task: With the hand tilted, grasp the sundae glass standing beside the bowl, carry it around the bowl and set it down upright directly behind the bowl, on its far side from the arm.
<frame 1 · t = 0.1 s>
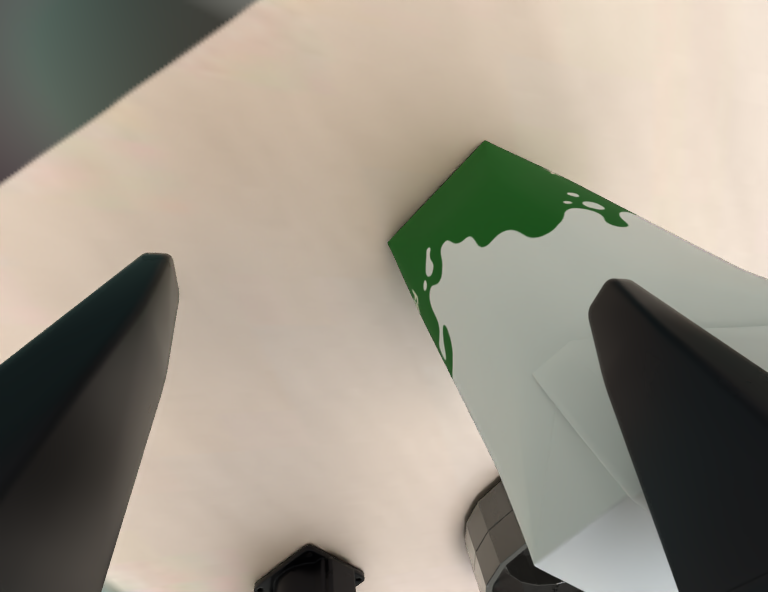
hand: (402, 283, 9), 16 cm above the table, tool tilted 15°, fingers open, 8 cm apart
bowl: (547, 514, 39), on the table
milk carton: (473, 232, 27), on the table, touching gripper
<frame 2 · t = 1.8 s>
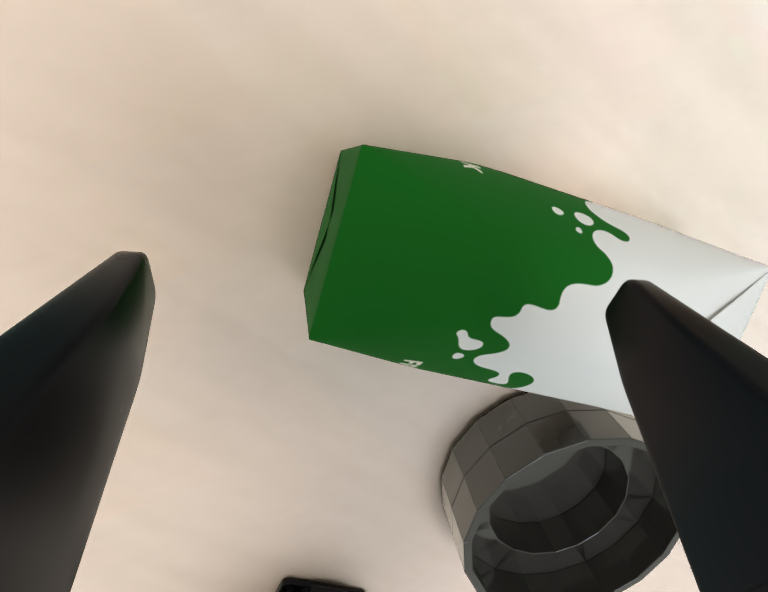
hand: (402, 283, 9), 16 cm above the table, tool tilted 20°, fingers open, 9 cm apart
bowl: (538, 467, 33), on the table
milk carton: (320, 232, 20), point 5 cm above the table
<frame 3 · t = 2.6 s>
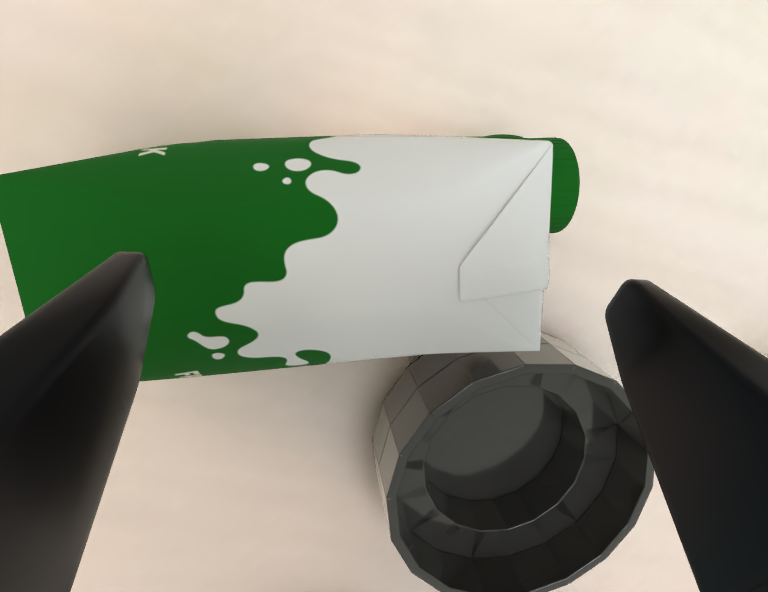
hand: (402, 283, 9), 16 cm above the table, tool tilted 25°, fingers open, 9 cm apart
bowl: (487, 431, 29), on the table
milk carton: (61, 269, 19), point 4 cm above the table
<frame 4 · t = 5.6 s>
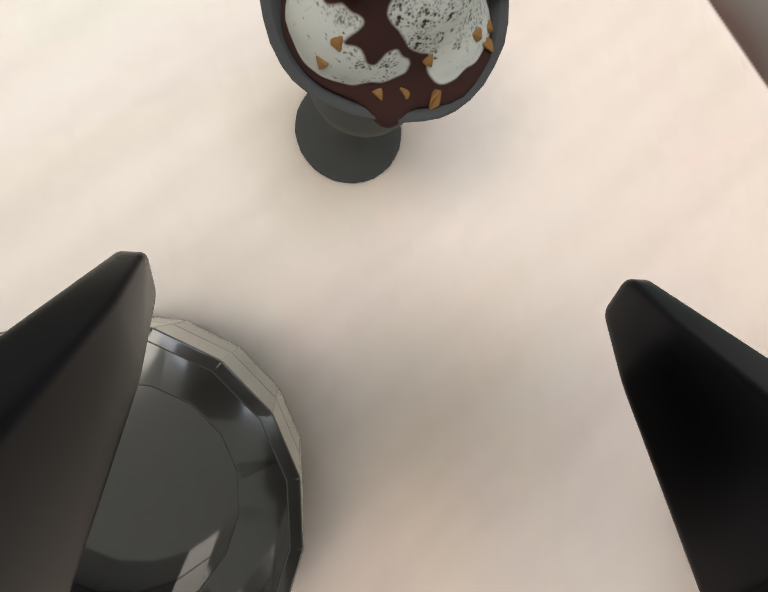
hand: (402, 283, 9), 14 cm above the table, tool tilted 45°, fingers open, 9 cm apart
bowl: (136, 478, 21), on the table
sundae: (348, 133, 23), on the table
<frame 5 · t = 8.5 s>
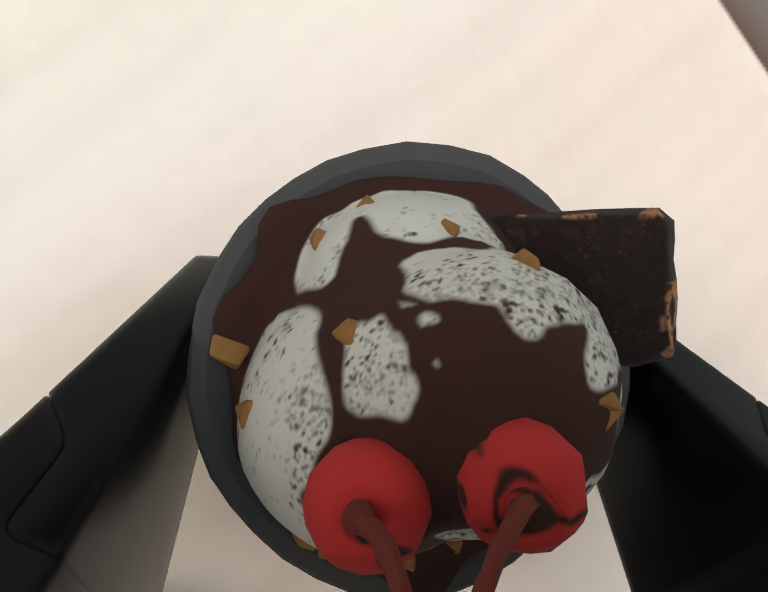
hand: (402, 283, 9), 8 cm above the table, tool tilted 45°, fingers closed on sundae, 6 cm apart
sundae: (350, 330, 17), on the table, touching gripper
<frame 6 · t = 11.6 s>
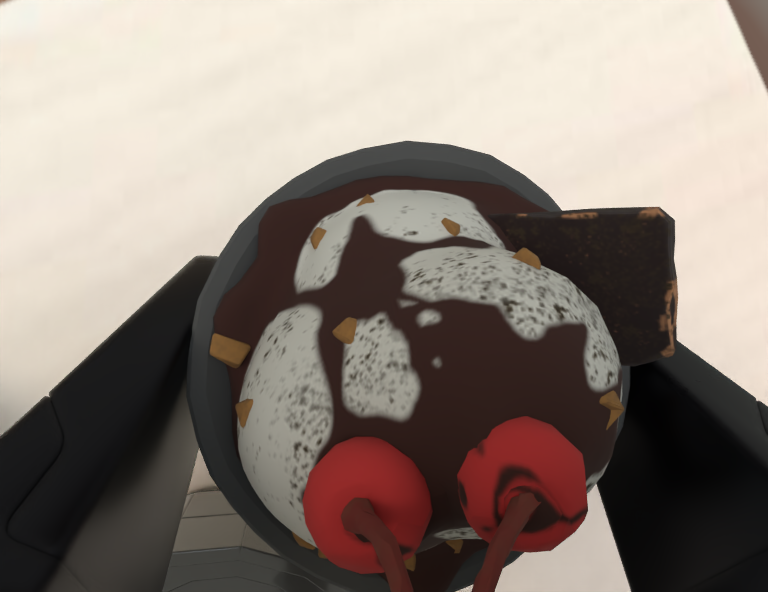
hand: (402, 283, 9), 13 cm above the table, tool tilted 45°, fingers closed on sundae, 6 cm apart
sundae: (350, 330, 17), point 5 cm above the table, touching gripper
when the fingers open (8 cm above the table, at t = 14.9 s): sundae stays where it is, on the table.
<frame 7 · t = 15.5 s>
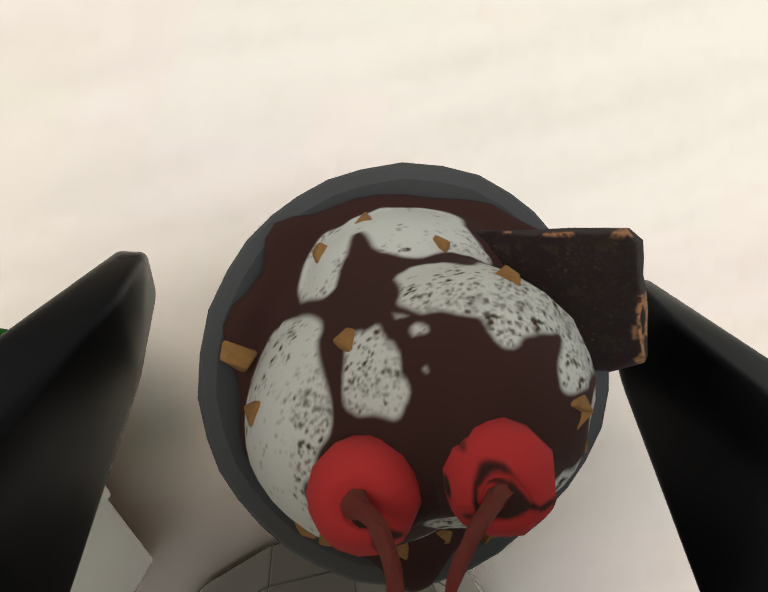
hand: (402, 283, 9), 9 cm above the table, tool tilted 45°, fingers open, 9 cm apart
sundae: (349, 333, 18), on the table
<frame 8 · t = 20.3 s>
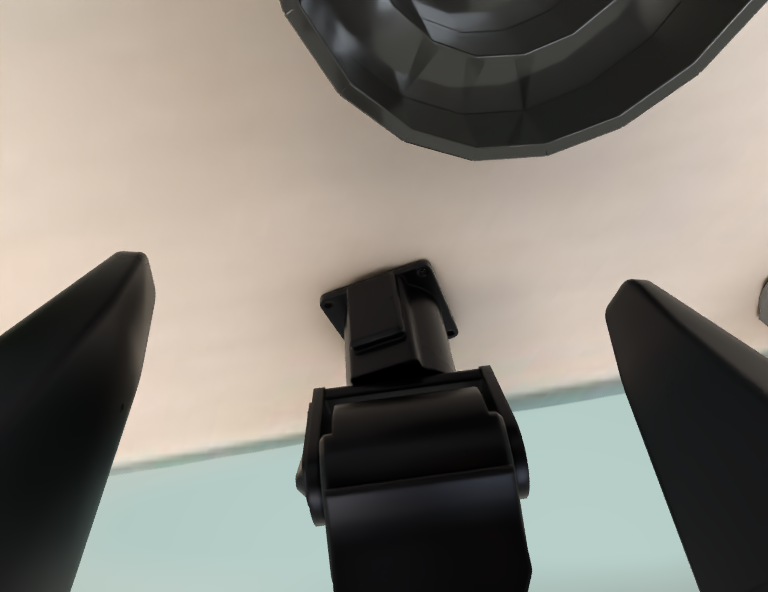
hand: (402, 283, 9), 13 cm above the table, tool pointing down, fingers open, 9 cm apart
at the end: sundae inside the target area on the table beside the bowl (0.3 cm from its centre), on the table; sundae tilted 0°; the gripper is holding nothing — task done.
